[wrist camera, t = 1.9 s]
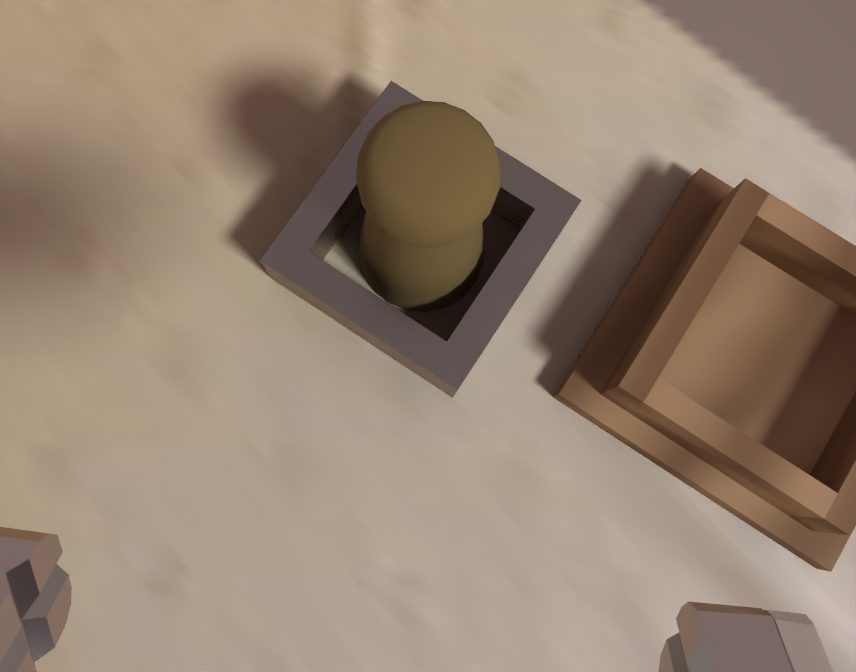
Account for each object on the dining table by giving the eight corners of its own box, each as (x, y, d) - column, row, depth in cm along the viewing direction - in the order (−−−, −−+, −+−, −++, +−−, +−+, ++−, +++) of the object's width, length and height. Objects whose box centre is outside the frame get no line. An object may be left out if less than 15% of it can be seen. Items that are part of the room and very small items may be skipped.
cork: (373, 177, 38) (363, 56, 27) (495, 204, 38) (534, 93, 27) (344, 296, 37) (321, 219, 26) (470, 324, 37) (499, 258, 26)
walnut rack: (553, 397, 36) (573, 386, 32) (691, 177, 38) (726, 140, 34) (816, 568, 35) (872, 580, 31) (942, 332, 37) (1009, 314, 33)
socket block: (271, 277, 37) (259, 260, 34) (391, 111, 38) (391, 80, 35) (452, 397, 36) (457, 390, 33) (567, 222, 38) (581, 200, 35)
